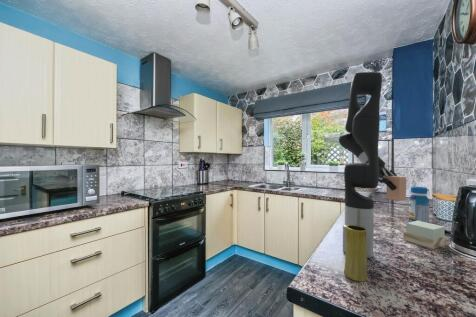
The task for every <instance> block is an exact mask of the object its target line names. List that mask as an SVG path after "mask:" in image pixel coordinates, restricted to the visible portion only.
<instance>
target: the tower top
mask: <svg viewBox="0 0 476 317" xmlns="http://www.w3.org/2000/svg"><path fill="white" fill-rule="evenodd" d="M405 225H406V227H405V231H406V232H407V233H411V234H414V235H418V236H421V237H425V238H428V239H432V240H434V239H438V238H441V237H444V236H445V230H446V228H445V226H443V225H438V224H433V223H430V222H429V223H426V222H422V221H413V222H409V221H408V222H406V224H405Z"/></svg>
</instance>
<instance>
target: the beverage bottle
mask: <svg viewBox="0 0 476 317" xmlns="http://www.w3.org/2000/svg"><path fill="white" fill-rule="evenodd" d="M410 193H411V195H409V198H408V200H409V202H408V207H409V208H408V218H409V219H408V223H409V222H413V221H422V222H426V223H430V203H429V202H430V198H429V197H428V196H427V194H428V188H427V187H424V186H410Z"/></svg>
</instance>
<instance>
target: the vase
mask: <svg viewBox="0 0 476 317" xmlns="http://www.w3.org/2000/svg"><path fill="white" fill-rule="evenodd" d="M344 258H345V260H344V271H343V274H344V275H345V276H346V277H347V278H349V279H351V280H353V281H355V282H366V281H368V279H369V278H368V265H367V264H368V258H367V247H366V229H365V228H364V227H361V226H357V225H347V226H346V252H345V257H344Z"/></svg>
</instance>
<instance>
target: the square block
mask: <svg viewBox="0 0 476 317" xmlns="http://www.w3.org/2000/svg"><path fill="white" fill-rule="evenodd" d="M387 177H388V178H389V180H390V181H391V182H392V183H393V184H394V185H395V186H396V187H397V188H396V189H395V190H391V189H390V188H389V187H388V186H387V185H386V199H387V200H392V201H397V202H400V201H402V202H403V201H406V200H407V176H399V175H397V176H387Z"/></svg>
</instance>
